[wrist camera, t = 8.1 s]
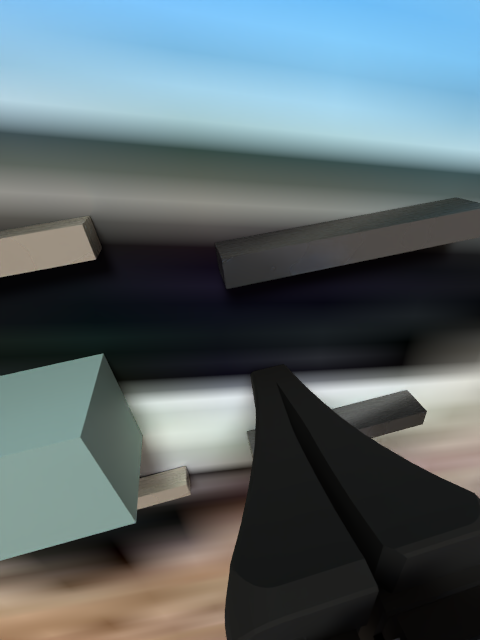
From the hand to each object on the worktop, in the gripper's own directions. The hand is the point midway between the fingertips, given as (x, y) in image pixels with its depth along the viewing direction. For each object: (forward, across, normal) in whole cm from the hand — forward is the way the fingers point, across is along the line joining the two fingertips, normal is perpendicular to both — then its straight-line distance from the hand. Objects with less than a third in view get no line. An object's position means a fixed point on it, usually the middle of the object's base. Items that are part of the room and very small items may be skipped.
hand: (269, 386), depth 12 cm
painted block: (+2, +9, 0) cm, 10 cm away
